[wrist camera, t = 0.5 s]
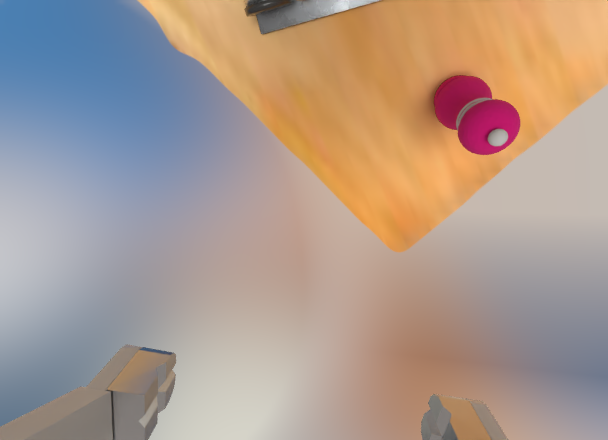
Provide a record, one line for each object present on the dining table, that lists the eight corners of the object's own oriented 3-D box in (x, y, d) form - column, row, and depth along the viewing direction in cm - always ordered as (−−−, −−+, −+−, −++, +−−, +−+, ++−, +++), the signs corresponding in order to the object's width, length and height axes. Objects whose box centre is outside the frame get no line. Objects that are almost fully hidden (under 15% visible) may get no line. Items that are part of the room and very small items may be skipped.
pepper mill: (435, 72, 45) (471, 104, 29) (487, 70, 44) (556, 102, 27) (426, 120, 49) (454, 171, 33) (474, 120, 48) (527, 173, 31)
